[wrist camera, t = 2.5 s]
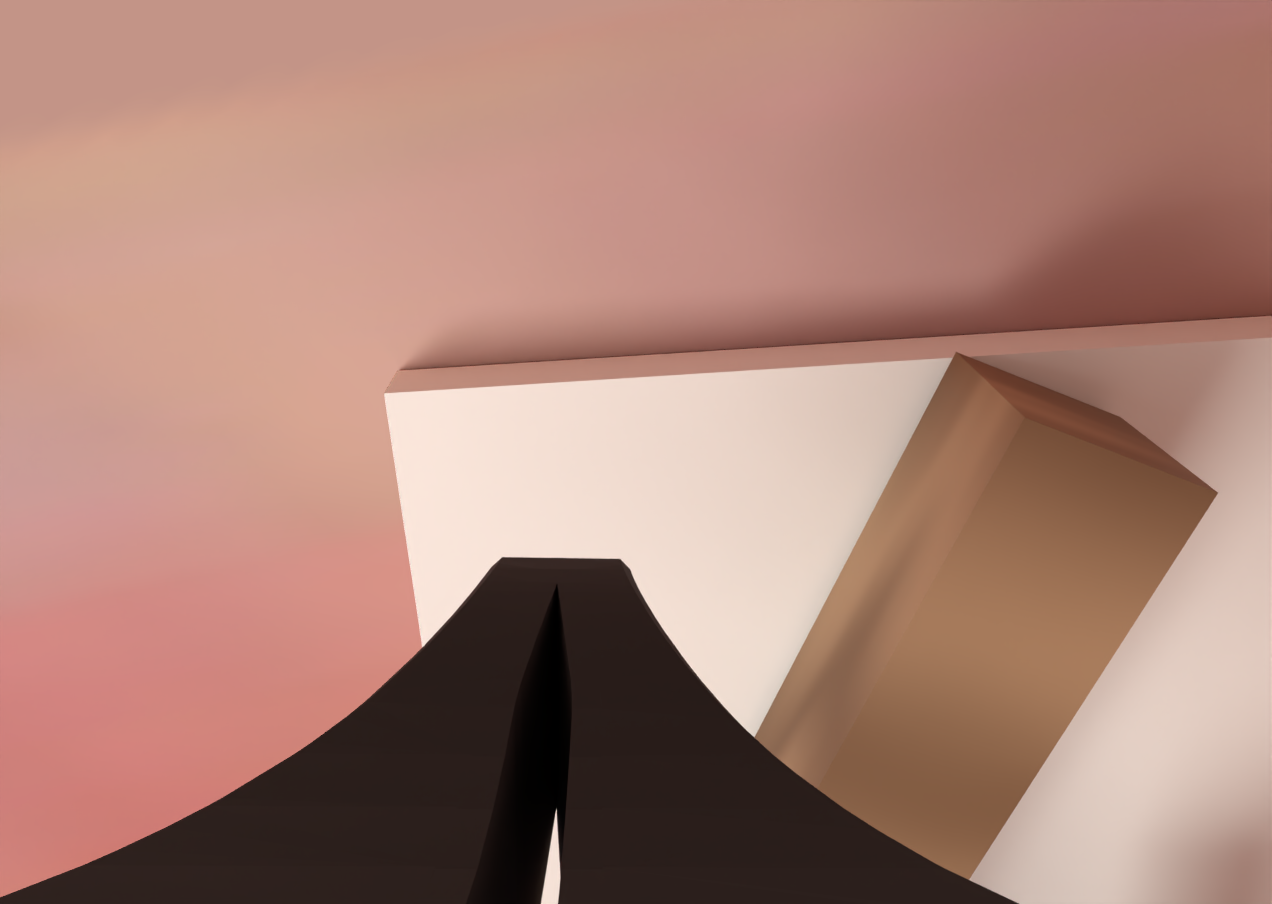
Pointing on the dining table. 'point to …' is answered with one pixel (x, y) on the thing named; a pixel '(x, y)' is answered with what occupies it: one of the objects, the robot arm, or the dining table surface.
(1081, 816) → the white plate
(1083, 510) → the walnut link
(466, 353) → the dining table surface
